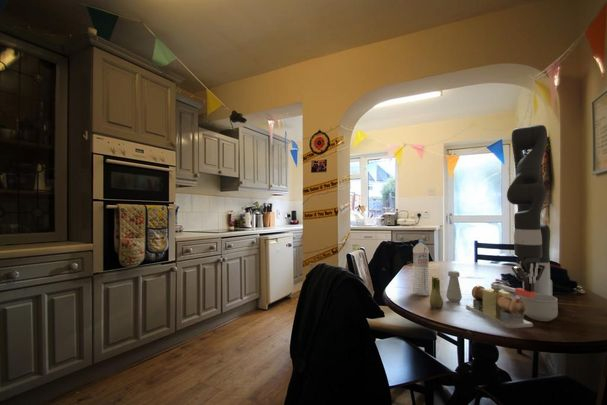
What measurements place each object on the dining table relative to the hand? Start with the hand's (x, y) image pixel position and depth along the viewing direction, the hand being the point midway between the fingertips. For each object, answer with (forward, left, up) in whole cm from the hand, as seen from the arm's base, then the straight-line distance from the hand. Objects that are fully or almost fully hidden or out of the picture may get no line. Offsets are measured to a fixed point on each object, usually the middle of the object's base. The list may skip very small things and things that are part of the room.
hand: (529, 293), depth 98 cm
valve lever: (+4, -3, -1) cm, 5 cm away
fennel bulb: (+21, -21, -11) cm, 31 cm away
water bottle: (+17, -39, -11) cm, 44 cm away
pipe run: (+5, -9, -11) cm, 15 cm away
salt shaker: (+9, -27, -11) cm, 30 cm away
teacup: (-10, -7, -11) cm, 16 cm away
